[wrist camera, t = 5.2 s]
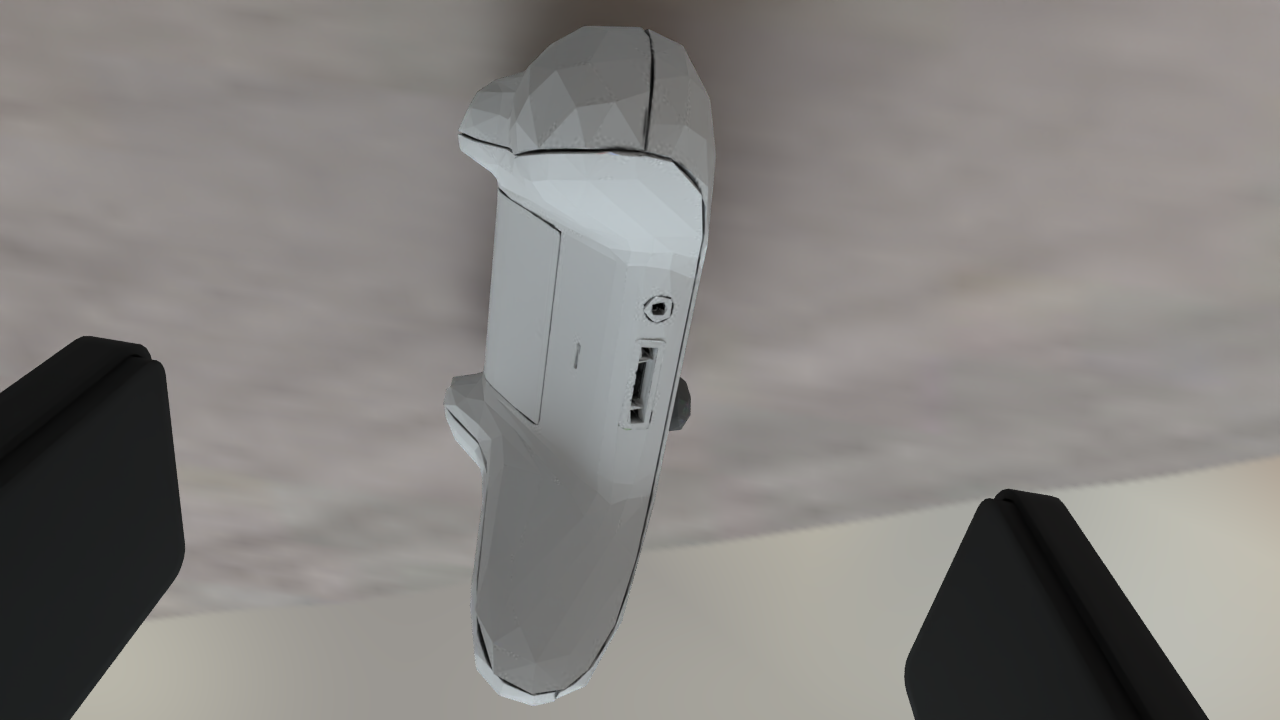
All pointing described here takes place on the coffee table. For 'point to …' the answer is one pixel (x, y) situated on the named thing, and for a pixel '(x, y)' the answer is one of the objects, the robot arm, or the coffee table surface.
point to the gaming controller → (579, 340)
